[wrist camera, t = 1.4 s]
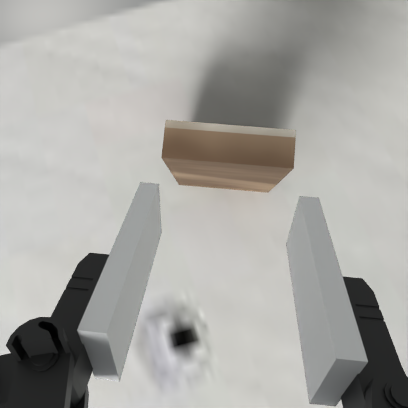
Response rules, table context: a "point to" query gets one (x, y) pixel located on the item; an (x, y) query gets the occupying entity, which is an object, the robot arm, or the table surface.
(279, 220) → the table surface
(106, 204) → the table surface
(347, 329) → the robot arm
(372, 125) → the table surface
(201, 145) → the walnut tile
